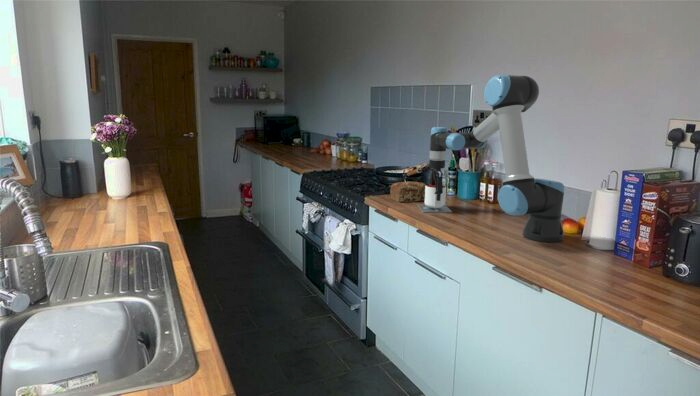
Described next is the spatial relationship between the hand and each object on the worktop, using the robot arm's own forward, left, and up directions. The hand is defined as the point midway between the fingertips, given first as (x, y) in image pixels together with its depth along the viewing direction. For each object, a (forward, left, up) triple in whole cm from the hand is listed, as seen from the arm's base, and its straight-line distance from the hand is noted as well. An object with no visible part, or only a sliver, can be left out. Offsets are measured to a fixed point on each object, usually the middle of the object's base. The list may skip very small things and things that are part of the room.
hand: (434, 204), depth 230 cm
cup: (0, 0, -1) cm, 1 cm away
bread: (+22, +9, -3) cm, 24 cm away
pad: (0, 0, -2) cm, 2 cm away
